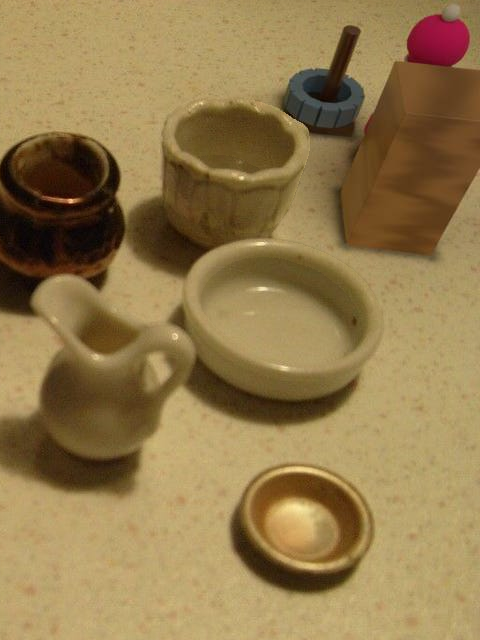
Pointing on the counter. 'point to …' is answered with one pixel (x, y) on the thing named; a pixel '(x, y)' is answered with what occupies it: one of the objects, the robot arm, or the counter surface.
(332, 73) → the stand
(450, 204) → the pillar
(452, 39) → the pepper mill
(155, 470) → the counter surface
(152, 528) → the counter surface
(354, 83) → the ring
